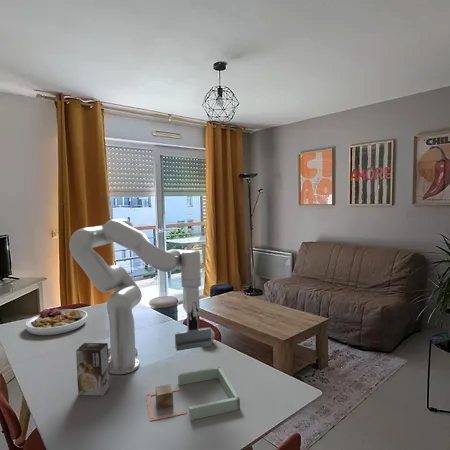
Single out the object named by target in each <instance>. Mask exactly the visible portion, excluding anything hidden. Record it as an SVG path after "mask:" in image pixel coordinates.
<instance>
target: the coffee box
mask: <svg viewBox="0 0 450 450" xmlns="http://www.w3.org/2000/svg"><path fill="white" fill-rule="evenodd" d="M75 355H76V356H75V357H76V358H75V360H76V375H77V376H76V378H77V380H76V381H77V395H78V396H104V395H105V394H106V392H107V391H108V389H109V388H110V373H109V363H108V358H109V345H108V342H84V343H82V344H81V345H80V346H79V347H78V348H77V349H76V351H75Z"/></svg>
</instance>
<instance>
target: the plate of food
mask: <svg viewBox="0 0 450 450" xmlns="http://www.w3.org/2000/svg"><path fill="white" fill-rule="evenodd" d="M87 319H88V313H87V311H85V310H82V309H71V308H70V309H69V308H68V309H67V308H66V309H59V308H54V309H52V310H51V309H49V308H45V309H43V310H41V311H40V313H39V314H37V315H35V316H32V317H30V318H28V319H27V320H26V321H25V329H26V331H28V333H30V334H32V335H36V336H53V335H60V334H65V333H68V332H72V331H74V330H77V329H79V328H80V327H82V326H83V325H84V324H85V323H86V321H87Z"/></svg>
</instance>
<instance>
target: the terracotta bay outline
mask: <svg viewBox="0 0 450 450" xmlns="http://www.w3.org/2000/svg"><path fill="white" fill-rule="evenodd" d="M172 391H173V393H174V392H180V388H172ZM152 396H156V392H152V393H147V394H146V402H147V408H148V409H147V410H148V418H149V422H153V421H158V420H162V419H168V418H173V417H177V416H181V415H186V414H187V411H186V410H182V411H177V412H172V413H169V414H163V415H159V416H154V412H153V405H152Z"/></svg>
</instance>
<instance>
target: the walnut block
mask: <svg viewBox="0 0 450 450" xmlns="http://www.w3.org/2000/svg"><path fill="white" fill-rule="evenodd" d="M172 389H173V388H172V384H170V383H169V384H164V385H158V386H155V393H156V395H155V403H156V409H157V411H160V410H165V409H170V408H174V392H173V391H172Z"/></svg>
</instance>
